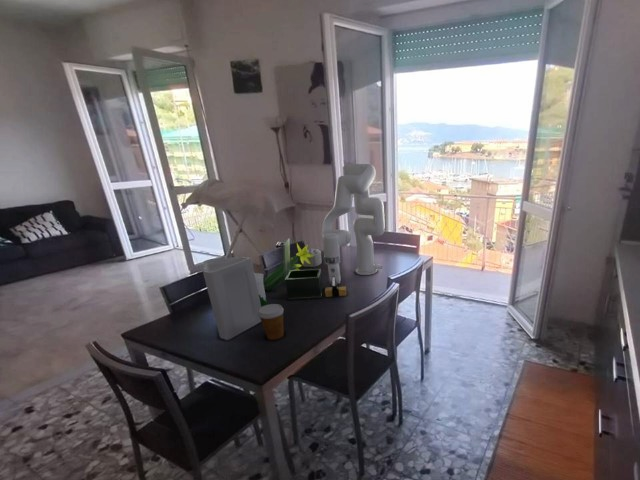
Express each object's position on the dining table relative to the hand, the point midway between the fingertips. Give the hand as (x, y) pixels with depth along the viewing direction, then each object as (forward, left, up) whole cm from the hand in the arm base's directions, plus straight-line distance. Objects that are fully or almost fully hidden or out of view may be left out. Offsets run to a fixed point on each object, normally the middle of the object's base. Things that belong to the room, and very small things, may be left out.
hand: (336, 293), depth 178 cm
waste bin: (+15, -3, 0) cm, 15 cm away
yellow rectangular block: (0, 0, 0) cm, 0 cm away
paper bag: (+41, +27, -1) cm, 49 cm away
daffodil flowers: (+27, -22, -1) cm, 35 cm away
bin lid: (+21, -3, +19) cm, 29 cm away
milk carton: (+34, +16, -1) cm, 38 cm away
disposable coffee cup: (+22, +38, -1) cm, 44 cm away
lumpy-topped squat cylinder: (+17, -52, -1) cm, 55 cm away
